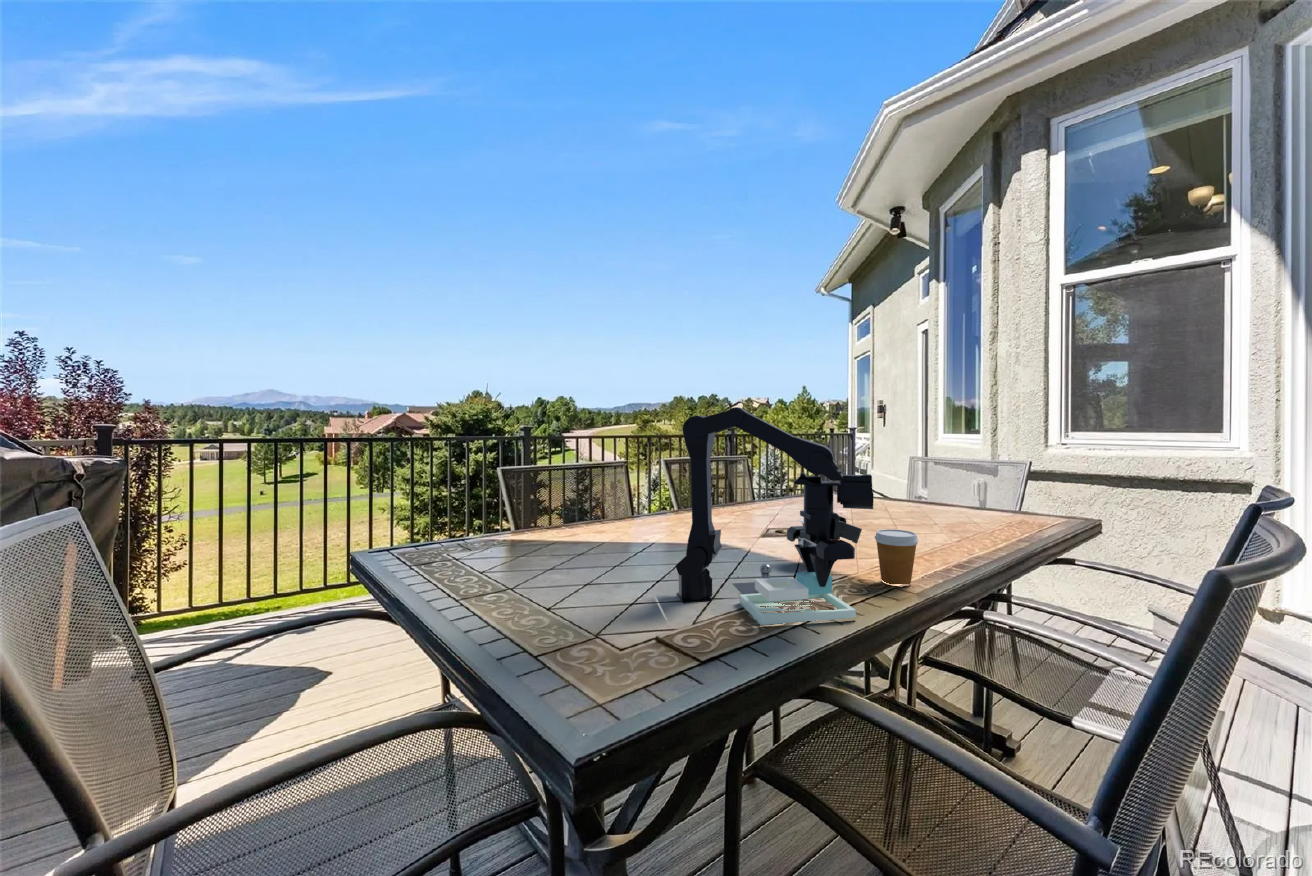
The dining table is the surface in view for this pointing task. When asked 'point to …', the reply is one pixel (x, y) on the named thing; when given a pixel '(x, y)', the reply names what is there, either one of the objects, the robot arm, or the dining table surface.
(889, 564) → the disposable coffee cup
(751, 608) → the tray
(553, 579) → the dining table surface
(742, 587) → the peg stand
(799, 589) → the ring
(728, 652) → the dining table surface
